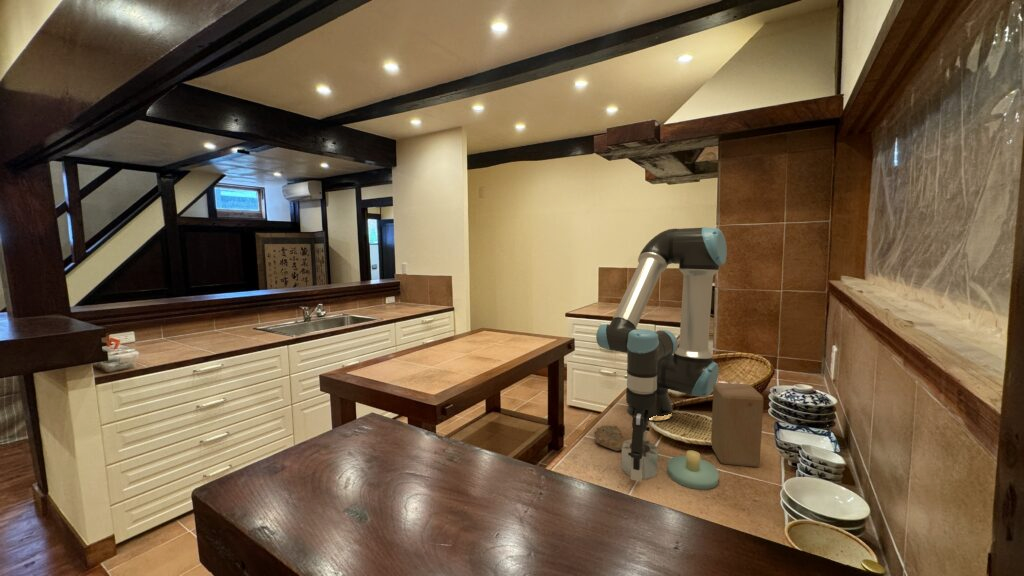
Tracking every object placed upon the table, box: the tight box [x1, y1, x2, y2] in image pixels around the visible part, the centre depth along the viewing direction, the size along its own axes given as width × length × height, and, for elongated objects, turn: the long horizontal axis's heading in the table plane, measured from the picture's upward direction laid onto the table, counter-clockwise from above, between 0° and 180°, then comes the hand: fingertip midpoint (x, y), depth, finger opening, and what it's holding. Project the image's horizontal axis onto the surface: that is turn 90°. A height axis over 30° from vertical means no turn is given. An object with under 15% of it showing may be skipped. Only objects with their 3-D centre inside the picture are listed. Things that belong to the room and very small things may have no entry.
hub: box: [667, 450, 720, 491], centre depth 102 cm, size 12×12×6 cm
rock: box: [594, 425, 626, 452], centre depth 119 cm, size 9×6×10 cm
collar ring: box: [620, 439, 659, 480], centre depth 106 cm, size 9×9×6 cm
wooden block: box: [710, 382, 764, 468], centre depth 110 cm, size 10×10×20 cm
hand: (638, 466), depth 106 cm, fingers open, 13 cm apart
